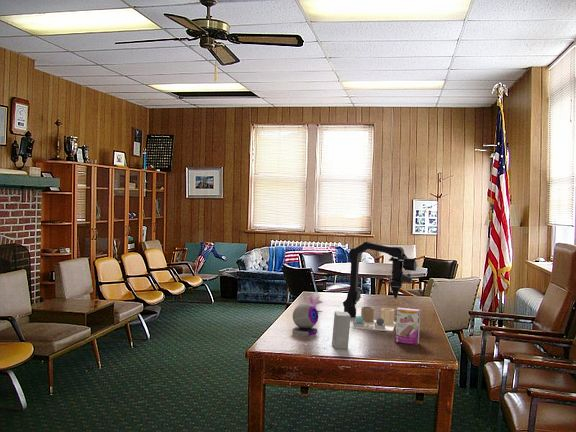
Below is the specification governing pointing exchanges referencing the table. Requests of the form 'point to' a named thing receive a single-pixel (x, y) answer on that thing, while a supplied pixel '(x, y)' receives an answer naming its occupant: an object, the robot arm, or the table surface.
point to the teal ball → (359, 319)
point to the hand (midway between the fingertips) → (396, 297)
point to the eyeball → (305, 319)
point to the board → (371, 324)
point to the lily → (313, 301)
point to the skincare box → (341, 330)
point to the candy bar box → (407, 326)
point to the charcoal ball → (380, 321)
